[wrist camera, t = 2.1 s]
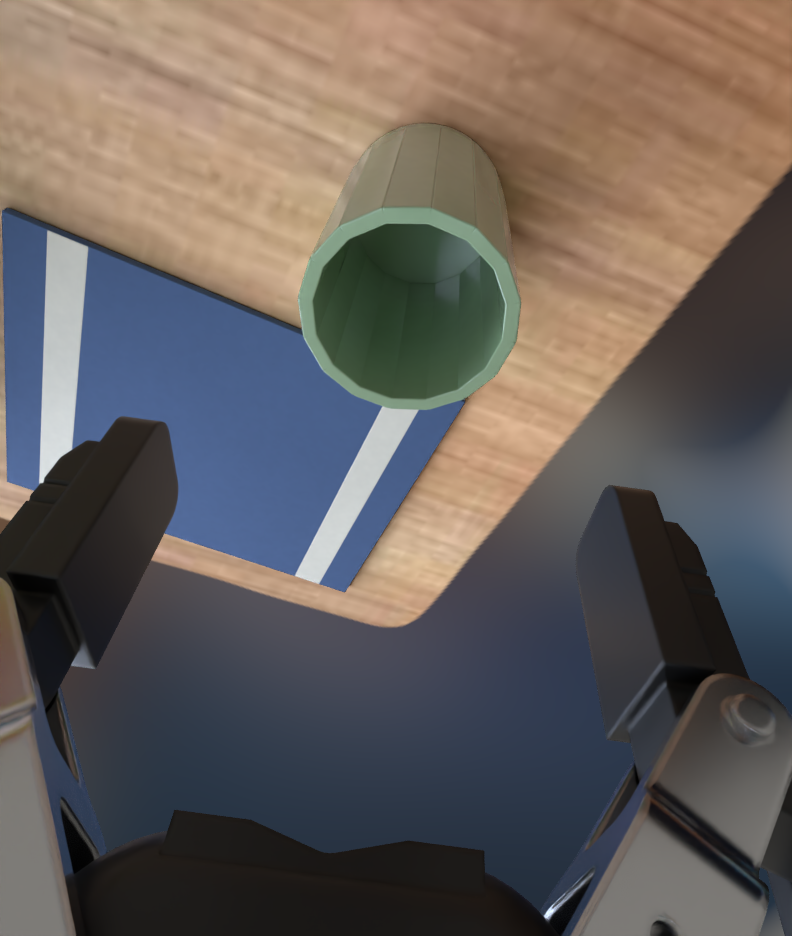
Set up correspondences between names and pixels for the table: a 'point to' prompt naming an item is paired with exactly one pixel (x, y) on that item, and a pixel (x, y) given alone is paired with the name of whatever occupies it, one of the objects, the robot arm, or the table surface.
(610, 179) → the table surface
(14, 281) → the towel
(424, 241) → the tumbler
